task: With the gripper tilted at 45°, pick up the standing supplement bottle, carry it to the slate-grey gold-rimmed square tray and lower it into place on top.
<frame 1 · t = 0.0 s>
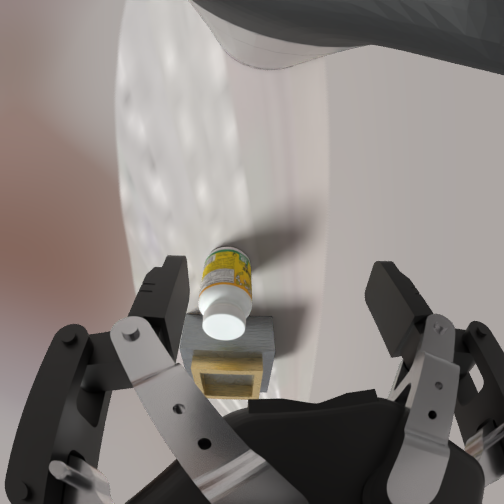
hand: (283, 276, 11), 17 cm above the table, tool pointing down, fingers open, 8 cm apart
gold-rimmed square tray: (229, 341, 41), on the table
supplement bottle: (228, 263, 33), on the table
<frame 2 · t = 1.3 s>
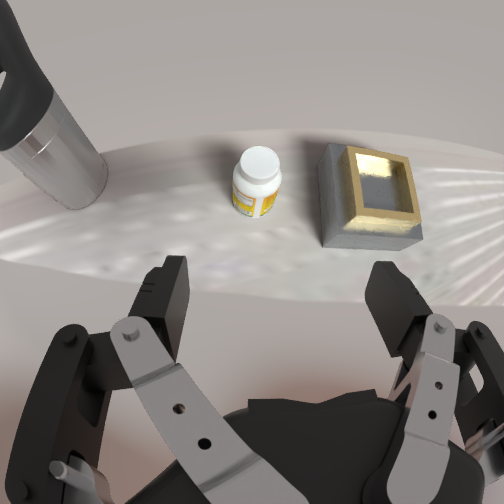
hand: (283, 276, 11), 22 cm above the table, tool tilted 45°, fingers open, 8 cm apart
gold-rimmed square tray: (359, 207, 37), on the table
supplement bottle: (253, 200, 36), on the table
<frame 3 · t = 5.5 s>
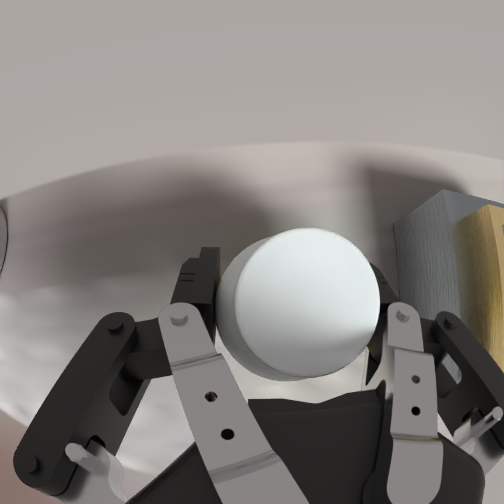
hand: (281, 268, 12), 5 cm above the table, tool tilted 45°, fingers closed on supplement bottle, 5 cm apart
gold-rimmed square tray: (457, 303, 17), on the table
supplement bottle: (268, 312, 16), on the table, touching gripper
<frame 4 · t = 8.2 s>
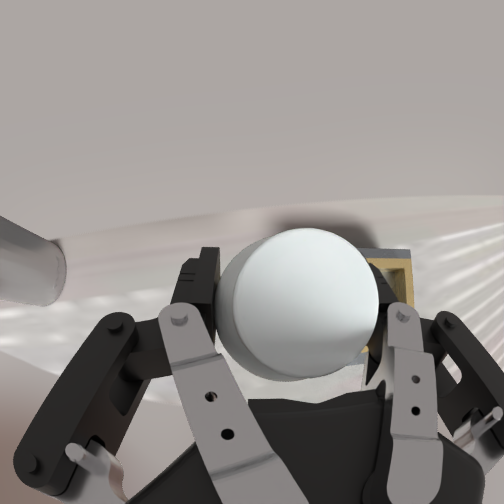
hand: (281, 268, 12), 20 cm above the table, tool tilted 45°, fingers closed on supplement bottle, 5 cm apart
gold-rimmed square tray: (347, 308, 32), on the table
supplement bottle: (268, 313, 16), point 15 cm above the table, touching gripper
when the fingers open (11 cm above the table, at t = 11.0 s): supplement bottle stays where it is, resting on gold-rimmed square tray.
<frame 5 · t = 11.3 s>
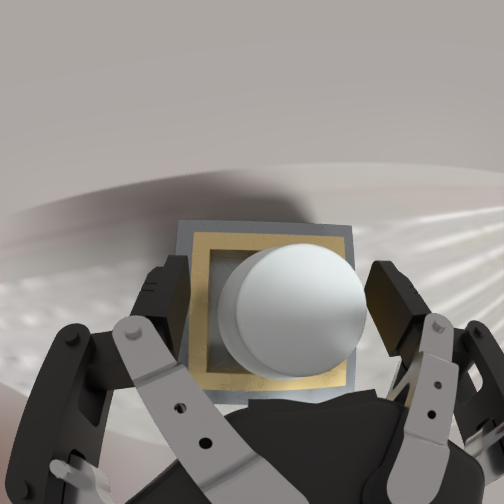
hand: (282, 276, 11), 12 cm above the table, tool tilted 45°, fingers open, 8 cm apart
gold-rimmed square tray: (259, 314, 23), on the table
supplement bottle: (267, 316, 17), point 6 cm above the table, touching gold-rimmed square tray
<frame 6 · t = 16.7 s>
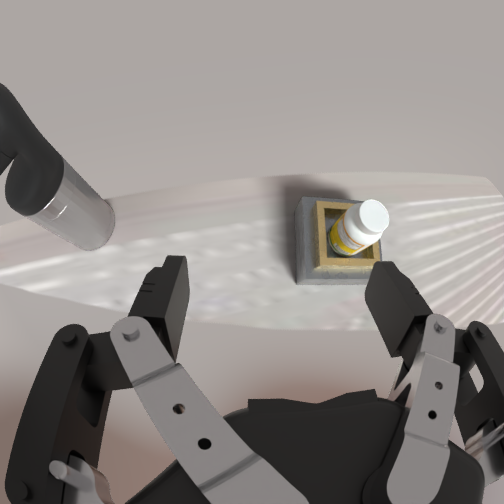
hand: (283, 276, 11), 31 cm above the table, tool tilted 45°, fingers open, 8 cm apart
gold-rimmed square tray: (331, 248, 44), on the table
supplement bottle: (344, 239, 38), point 6 cm above the table, touching gold-rimmed square tray
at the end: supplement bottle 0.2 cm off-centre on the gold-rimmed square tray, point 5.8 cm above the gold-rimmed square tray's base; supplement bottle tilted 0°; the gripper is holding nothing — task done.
